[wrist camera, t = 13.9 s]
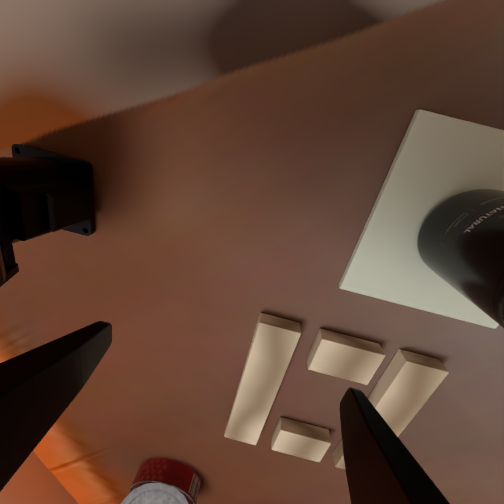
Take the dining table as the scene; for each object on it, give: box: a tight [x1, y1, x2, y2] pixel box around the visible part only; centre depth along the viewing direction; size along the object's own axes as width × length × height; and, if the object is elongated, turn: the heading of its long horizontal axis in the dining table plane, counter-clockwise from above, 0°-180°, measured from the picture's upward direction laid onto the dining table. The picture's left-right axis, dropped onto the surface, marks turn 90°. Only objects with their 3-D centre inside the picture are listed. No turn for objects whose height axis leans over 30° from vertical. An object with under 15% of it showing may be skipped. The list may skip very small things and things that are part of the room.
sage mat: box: [338, 109, 504, 329], centre depth 18 cm, size 14×14×1 cm
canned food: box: [121, 457, 201, 504], centre depth 34 cm, size 11×10×10 cm
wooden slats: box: [224, 313, 449, 469], centre depth 26 cm, size 18×18×2 cm
